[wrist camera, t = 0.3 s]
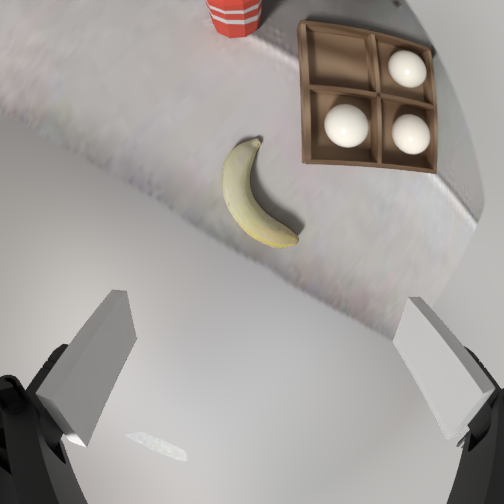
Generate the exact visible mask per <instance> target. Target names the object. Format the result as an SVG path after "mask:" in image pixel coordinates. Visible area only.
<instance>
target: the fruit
mask: <svg viewBox="0 0 504 504" xmlns="http://www.w3.org/2000/svg"><path fill="white" fill-rule="evenodd" d="M260 145H261V142H260V141H259V139H258V138H255V139H252V140H250V141H247V142H244V143H241V144H239V145H237V146H236V147H235V148H234V149H232V151H231V152H230V153H229V155H228V156H227V158H226V160H225V162H224V166H223V174H222V189H223V195H224V199H225V202H226V205H227V207H228V209H229V211H230V213H231V214H232V216H233V217H234V219H235V220H236V222H237V223H238V224H239V225H240V226H241V227H242V228H243V230H244V231H246V232H247V233H248V234H249V235H250V236H251V237H253V238H254V239H256V240H258V241H260V242H262V243H264V244H266V245H269V246H271V247H273V248H285V247H288V246H292V245H296V244H297V243H298V241H299V238H298V236H297V235H296V234H295V233H294V232H292V231H291V230H290V229H289V228H287V227H286V226H285V225H283V224H281V223H280V222H278V221H277V220H275V219H273V218H272V217H270V216H269V215H268V214H267V213H266V212H264V211H263V210H262V209H261V207H260V206H259V205H258V204H257V202H256V201H255V199H254V197H253V195H252V192H251V188H250V172H251V167H252V164H253V161H254V158H255V155H256V152H257V150H258V148H259V147H260Z"/></svg>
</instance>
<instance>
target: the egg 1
mask: <svg viewBox="0 0 504 504" xmlns="http://www.w3.org/2000/svg"><path fill="white" fill-rule="evenodd" d="M324 128H325V131H326V134H327V136H328V137H329V138H330V140H331V141H332V142H334V143H335V144H337V145H339V146H342V147H347V148H350V147H355V146H357V145H359V144H361V143H362V142H363V141H364V140H365V138H366V137H367V135H368V131H369V124H368V120H367V118H366V116H365V114H364V113H363V112H362V111H361V110H360V109H359V108H357V107H355V106H353V105H349V104H340V105H337V106H335V107H333V108H332V109H330V110H329V112H328V113H327V115H326V117H325V121H324Z"/></svg>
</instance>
